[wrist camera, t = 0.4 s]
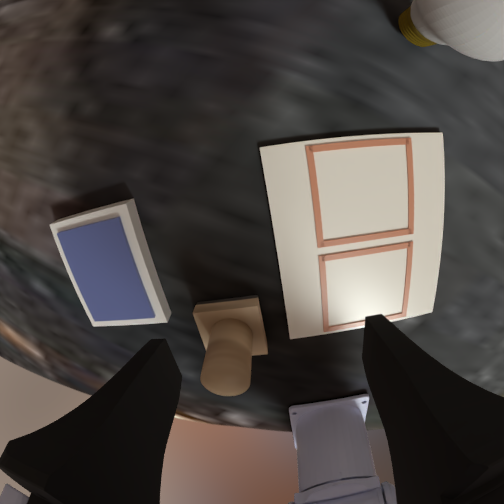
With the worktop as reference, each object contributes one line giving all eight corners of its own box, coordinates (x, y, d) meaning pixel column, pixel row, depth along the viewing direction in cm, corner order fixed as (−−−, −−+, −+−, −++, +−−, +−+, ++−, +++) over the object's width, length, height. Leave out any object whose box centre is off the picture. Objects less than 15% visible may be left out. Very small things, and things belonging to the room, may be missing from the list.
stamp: (267, 341, 23) (267, 400, 17) (212, 346, 23) (200, 403, 18) (258, 293, 21) (256, 352, 15) (196, 301, 21) (178, 357, 16)
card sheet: (430, 310, 21) (432, 312, 21) (289, 336, 22) (290, 340, 22) (440, 132, 15) (443, 132, 15) (259, 147, 17) (259, 147, 16)
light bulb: (455, 28, 12) (555, 3, 3) (433, 89, 14) (548, 88, 5) (384, -21, 11) (459, -89, 2) (356, 39, 13) (441, -23, 4)
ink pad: (171, 312, 22) (166, 324, 20) (99, 318, 22) (91, 328, 21) (133, 198, 18) (124, 204, 17) (58, 219, 19) (47, 226, 17)
